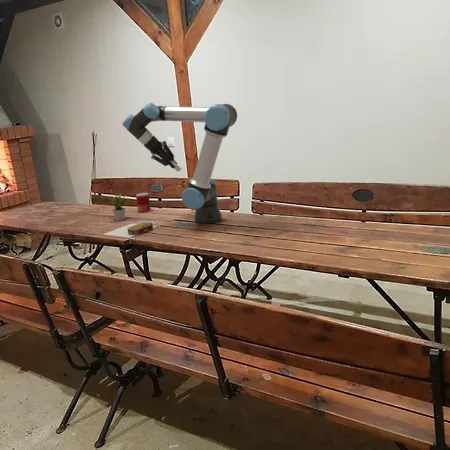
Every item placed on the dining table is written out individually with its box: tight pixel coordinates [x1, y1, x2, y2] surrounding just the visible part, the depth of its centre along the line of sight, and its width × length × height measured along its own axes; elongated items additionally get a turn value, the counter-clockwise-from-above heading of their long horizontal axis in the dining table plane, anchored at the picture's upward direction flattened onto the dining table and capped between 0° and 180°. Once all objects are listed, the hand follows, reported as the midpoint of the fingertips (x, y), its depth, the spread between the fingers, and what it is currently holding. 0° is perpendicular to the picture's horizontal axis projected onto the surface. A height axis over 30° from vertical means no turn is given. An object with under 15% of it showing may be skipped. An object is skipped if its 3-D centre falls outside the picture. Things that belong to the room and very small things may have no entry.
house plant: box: [107, 192, 131, 221], centre depth 269 cm, size 14×14×16 cm
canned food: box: [135, 192, 152, 213], centre depth 287 cm, size 8×8×11 cm
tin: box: [127, 222, 154, 236], centre depth 240 cm, size 15×3×8 cm
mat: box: [102, 223, 158, 239], centre depth 244 cm, size 19×22×1 cm
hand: (179, 170), depth 250 cm, fingers closed
